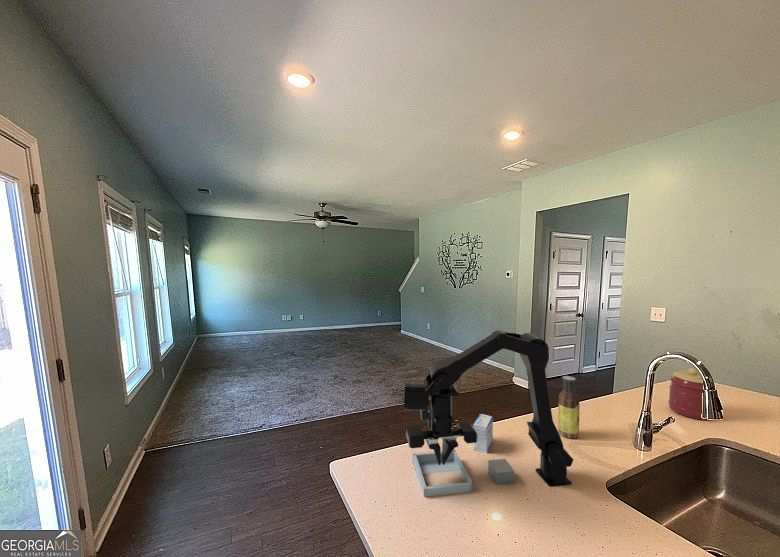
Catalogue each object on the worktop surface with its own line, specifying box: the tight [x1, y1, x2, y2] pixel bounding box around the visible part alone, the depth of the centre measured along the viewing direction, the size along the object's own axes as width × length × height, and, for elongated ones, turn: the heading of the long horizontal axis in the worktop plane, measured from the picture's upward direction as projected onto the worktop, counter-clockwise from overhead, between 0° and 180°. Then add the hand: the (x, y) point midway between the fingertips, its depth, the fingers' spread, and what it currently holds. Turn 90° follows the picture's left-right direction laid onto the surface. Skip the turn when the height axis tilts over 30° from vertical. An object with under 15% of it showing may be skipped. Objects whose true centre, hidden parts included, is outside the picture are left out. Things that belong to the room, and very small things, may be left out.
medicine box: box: [472, 413, 494, 454], centre depth 98 cm, size 8×4×9 cm, turn 149°
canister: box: [668, 367, 717, 421], centre depth 118 cm, size 13×13×18 cm
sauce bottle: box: [557, 375, 580, 439], centre depth 104 cm, size 6×6×20 cm
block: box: [487, 458, 516, 486], centre depth 82 cm, size 5×5×4 cm
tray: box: [412, 449, 475, 498], centre depth 83 cm, size 14×13×4 cm
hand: (441, 464), depth 83 cm, fingers closed
